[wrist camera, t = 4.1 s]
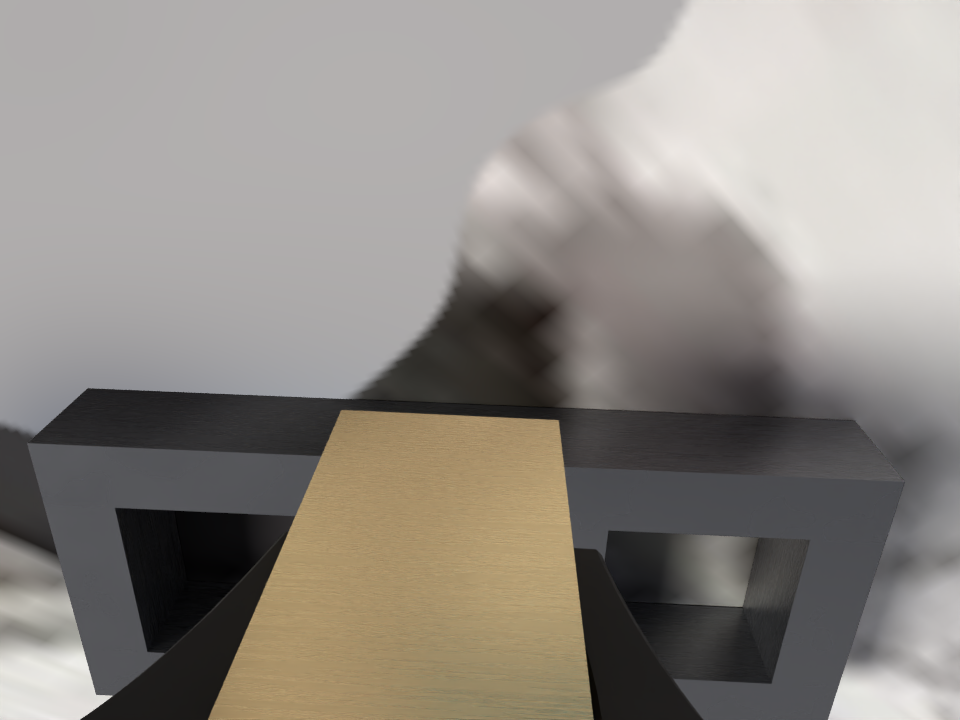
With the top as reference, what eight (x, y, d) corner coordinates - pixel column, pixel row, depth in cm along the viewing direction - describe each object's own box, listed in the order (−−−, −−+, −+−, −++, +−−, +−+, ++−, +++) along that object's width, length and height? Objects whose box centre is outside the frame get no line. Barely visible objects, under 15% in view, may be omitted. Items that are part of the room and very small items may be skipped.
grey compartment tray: (855, 420, 21) (904, 481, 18) (790, 654, 25) (823, 732, 22) (87, 388, 22) (27, 443, 19) (140, 621, 26) (96, 694, 23)
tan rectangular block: (558, 420, 14) (599, 769, 7) (543, 590, 15) (566, 994, 9) (341, 409, 14) (196, 746, 7) (350, 580, 15) (237, 973, 9)
